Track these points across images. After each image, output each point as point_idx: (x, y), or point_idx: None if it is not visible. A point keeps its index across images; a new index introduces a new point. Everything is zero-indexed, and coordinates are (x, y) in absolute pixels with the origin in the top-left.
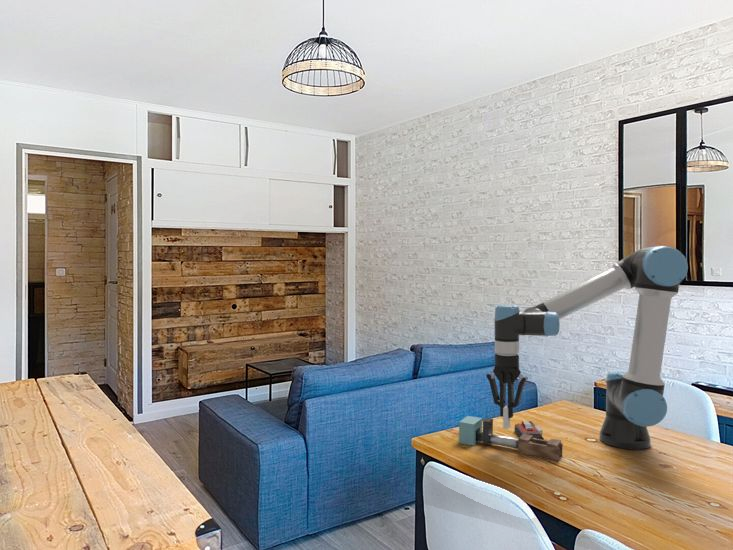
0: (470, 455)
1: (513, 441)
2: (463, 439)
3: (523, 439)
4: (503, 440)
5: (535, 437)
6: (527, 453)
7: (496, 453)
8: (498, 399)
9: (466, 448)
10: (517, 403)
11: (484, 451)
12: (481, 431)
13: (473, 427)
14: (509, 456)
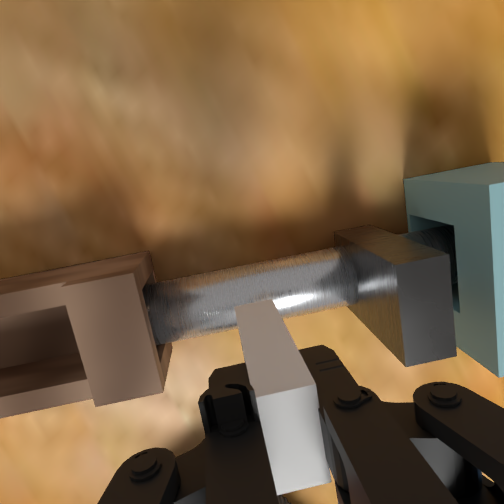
0: (345, 13)
1: (190, 288)
2: (481, 168)
3: (96, 281)
4: (254, 270)
5: None
6: (92, 263)
7: (243, 160)
8: (459, 501)
9: (417, 110)
10: (104, 501)
11: (312, 140)
12: None
13: (474, 182)
14: (161, 168)
